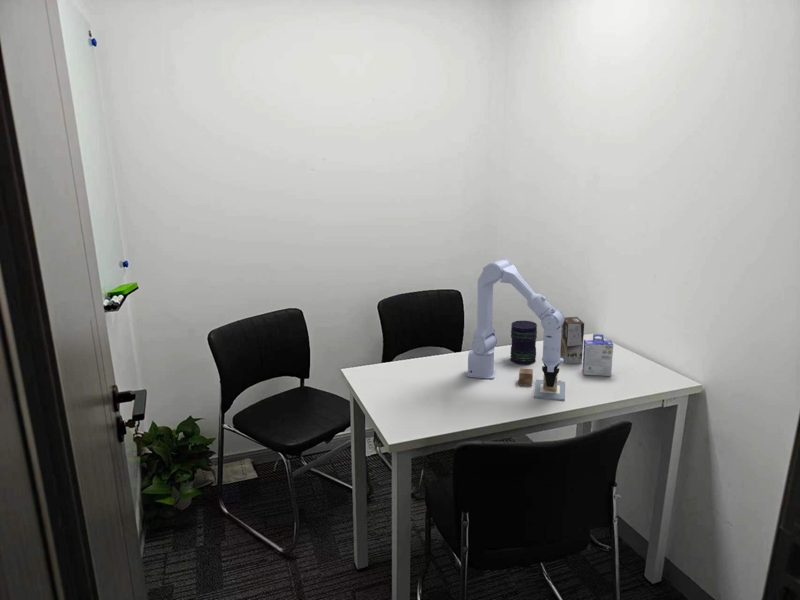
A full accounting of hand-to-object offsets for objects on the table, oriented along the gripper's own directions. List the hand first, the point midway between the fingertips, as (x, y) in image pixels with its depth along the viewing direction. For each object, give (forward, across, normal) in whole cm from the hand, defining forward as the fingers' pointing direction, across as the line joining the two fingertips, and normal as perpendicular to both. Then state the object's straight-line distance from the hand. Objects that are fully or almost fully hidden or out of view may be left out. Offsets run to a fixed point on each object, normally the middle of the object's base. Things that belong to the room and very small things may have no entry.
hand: (550, 383), depth 184 cm
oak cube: (+2, 0, 0) cm, 2 cm away
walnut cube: (+3, +5, +8) cm, 10 cm away
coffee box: (+3, +31, -7) cm, 32 cm away
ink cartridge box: (+3, +19, -16) cm, 25 cm away
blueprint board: (+3, 0, 0) cm, 3 cm away
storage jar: (+3, +26, +11) cm, 28 cm away
